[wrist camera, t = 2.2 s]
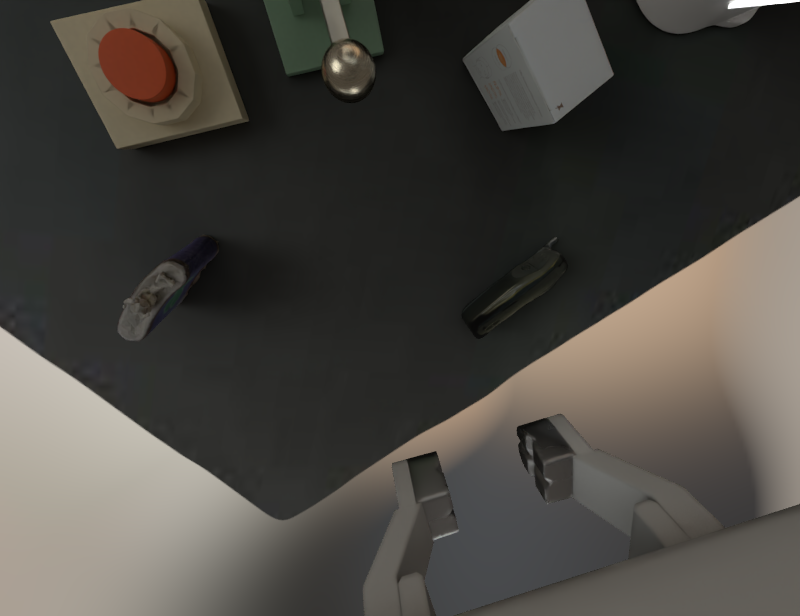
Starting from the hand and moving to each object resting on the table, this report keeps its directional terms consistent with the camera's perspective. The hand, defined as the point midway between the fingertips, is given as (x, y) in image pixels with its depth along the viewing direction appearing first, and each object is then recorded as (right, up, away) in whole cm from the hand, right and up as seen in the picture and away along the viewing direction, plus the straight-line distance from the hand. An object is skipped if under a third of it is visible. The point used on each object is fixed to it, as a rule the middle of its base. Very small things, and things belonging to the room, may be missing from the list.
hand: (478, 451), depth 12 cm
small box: (+8, +28, +24) cm, 37 cm away
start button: (-22, +23, +16) cm, 36 cm away
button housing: (-23, +25, +19) cm, 39 cm away
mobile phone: (+11, +8, +33) cm, 36 cm away
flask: (-25, +9, +26) cm, 38 cm away
